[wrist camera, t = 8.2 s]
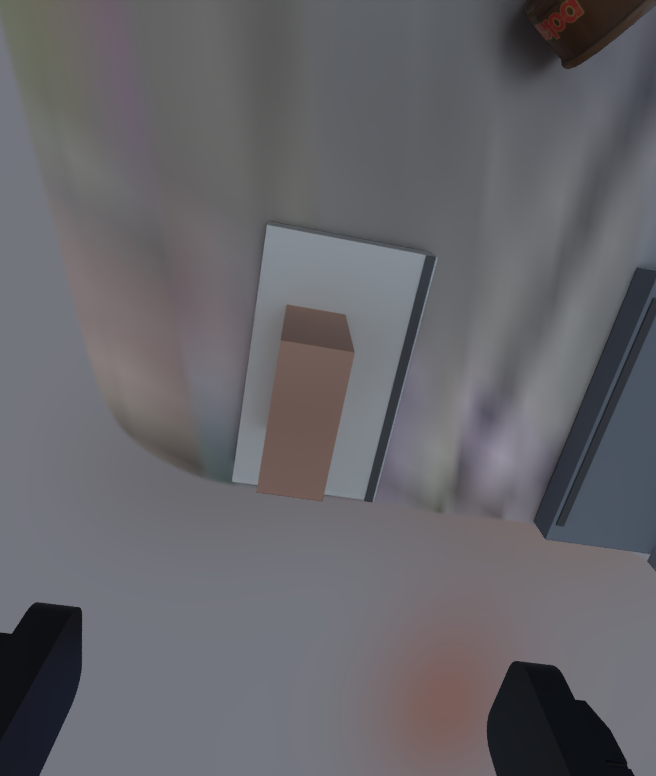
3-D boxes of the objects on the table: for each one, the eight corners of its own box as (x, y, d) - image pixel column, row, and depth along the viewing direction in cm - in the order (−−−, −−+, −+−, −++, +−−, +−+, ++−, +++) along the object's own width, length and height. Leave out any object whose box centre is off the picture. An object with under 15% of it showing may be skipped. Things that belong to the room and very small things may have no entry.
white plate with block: (430, 252, 23) (473, 281, 17) (370, 484, 27) (388, 573, 21) (269, 221, 22) (254, 240, 16) (236, 465, 26) (214, 551, 20)
